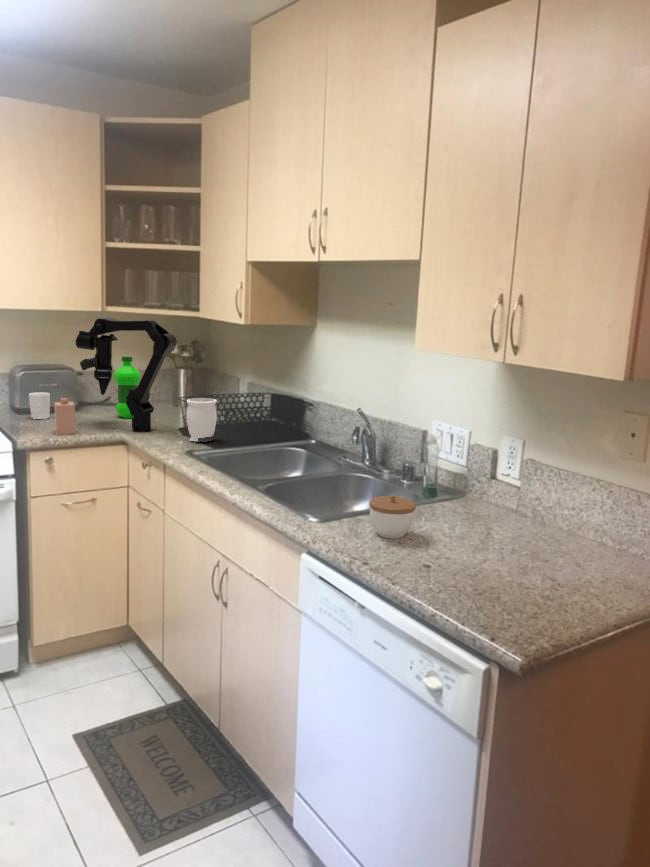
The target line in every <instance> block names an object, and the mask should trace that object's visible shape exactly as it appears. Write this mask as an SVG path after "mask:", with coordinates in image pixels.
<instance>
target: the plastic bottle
mask: <svg viewBox="0 0 650 867" xmlns="http://www.w3.org/2000/svg"><path fill="white" fill-rule="evenodd" d="M121 362H122V366H121V367H119V368H118V369H117V370H116V371H115V372H114V374H113V379H114V380H113V381H114V382H115V383H116V385H117V403H116V405H115V411H116V413H117V414H118V415H119V416H120V417H121V418H122V417H123V418H122V419H132V417H134V416H132V415H131V413H130V410H129V409H128V407H127V404H126V400H127V399H126V397H127V396H128V394H129V391H130V389H133V388H137V387H138V385H139V383H140V381H141V373H140V371H139V370H138V369H136V368H135V367H134V366H133V365H132V362H133V356H132V355H131V356H128V355H124V356H121Z"/></svg>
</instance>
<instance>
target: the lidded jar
mask: <svg viewBox="0 0 650 867" xmlns="http://www.w3.org/2000/svg"><path fill="white" fill-rule="evenodd" d="M416 506H417V504H416V503H415V501H413V500H411V499H410V498H406V497H403V496H396V495H395V494H391V495H382V496H381V495H380V496H376V497H373V498H371V499H370V500H369V518H370V523H371V526H372V527H373V529H374V530H375V531H376V532H377V535H378V536H380V537H381V538H386V539H392V540H393V539H401V538H403V537H404V536H405V535H406V534H407V533H408V532H409V531H410V529H412V526H413V524H414V520H415V515H416V510H417V509H416Z"/></svg>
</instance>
